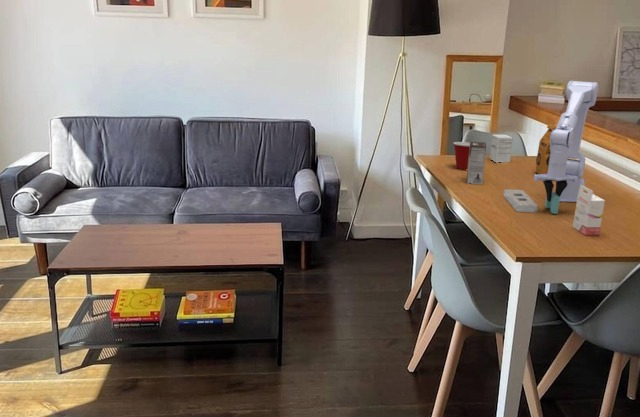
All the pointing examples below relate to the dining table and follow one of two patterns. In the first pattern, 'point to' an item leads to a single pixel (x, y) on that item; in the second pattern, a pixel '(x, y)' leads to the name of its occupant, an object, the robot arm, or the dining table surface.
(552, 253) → the dining table surface
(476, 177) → the coffee box
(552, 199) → the teal rectangular plank
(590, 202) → the ink cartridge box
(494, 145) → the supplement box
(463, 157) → the plastic cup
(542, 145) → the coffee package
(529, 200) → the white slotted slab
